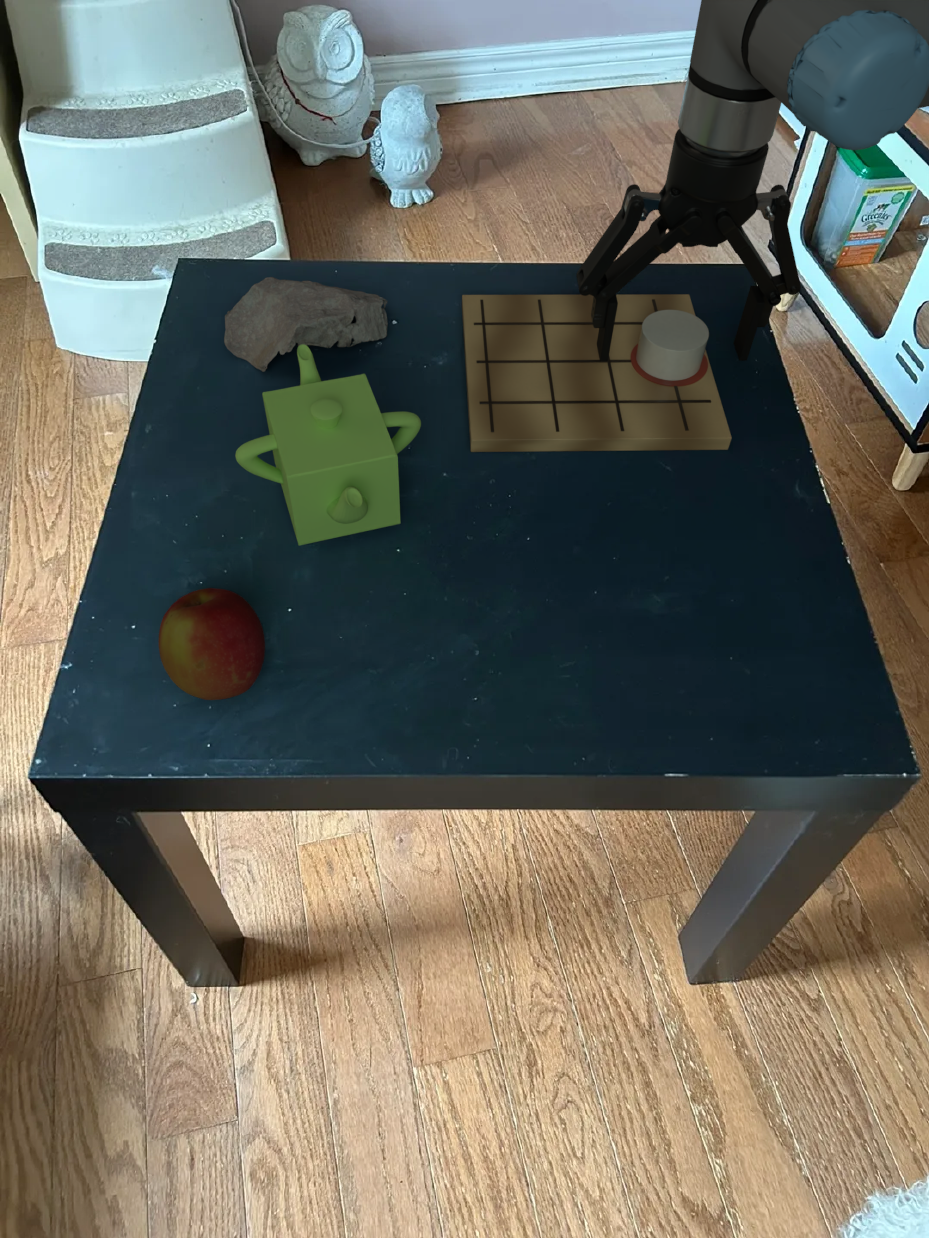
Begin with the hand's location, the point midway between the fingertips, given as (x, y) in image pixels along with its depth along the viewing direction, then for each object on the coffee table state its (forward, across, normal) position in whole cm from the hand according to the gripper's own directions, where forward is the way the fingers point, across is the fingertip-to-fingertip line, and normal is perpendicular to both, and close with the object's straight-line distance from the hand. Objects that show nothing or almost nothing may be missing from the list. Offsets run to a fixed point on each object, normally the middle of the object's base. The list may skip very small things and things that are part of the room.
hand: (671, 352), depth 94 cm
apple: (+3, +40, +35) cm, 53 cm away
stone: (+3, +36, -5) cm, 36 cm away
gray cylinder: (+1, 0, 0) cm, 1 cm away
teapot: (+3, +32, +17) cm, 36 cm away
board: (+2, +8, 0) cm, 8 cm away
